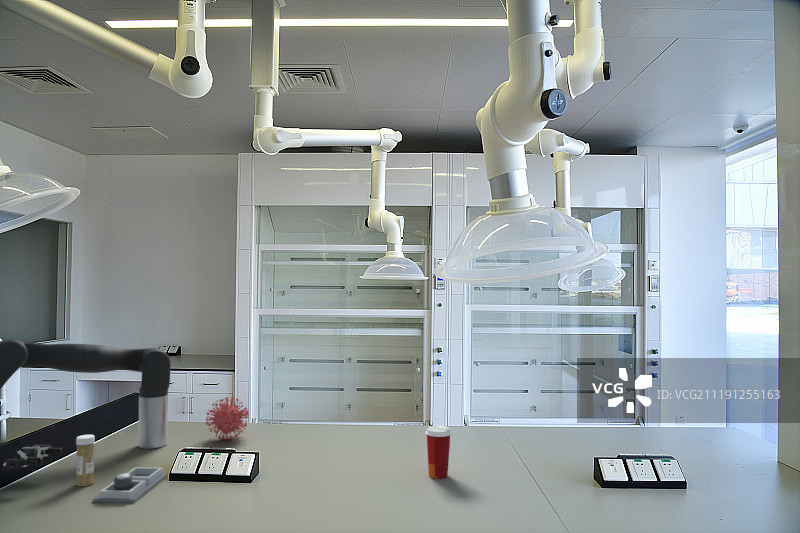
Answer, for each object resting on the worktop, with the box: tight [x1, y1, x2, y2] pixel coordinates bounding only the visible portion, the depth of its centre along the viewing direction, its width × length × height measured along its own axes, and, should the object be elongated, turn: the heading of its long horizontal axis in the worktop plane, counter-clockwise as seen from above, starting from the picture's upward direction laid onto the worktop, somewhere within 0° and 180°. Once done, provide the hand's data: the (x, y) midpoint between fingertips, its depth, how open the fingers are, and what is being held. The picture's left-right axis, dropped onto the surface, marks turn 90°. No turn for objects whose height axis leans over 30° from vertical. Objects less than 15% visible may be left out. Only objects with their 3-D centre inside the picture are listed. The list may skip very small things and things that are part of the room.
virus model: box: [205, 396, 250, 440], centre depth 207 cm, size 15×15×15 cm
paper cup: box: [424, 425, 452, 480], centre depth 171 cm, size 8×8×14 cm
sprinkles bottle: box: [75, 434, 96, 487], centre depth 162 cm, size 5×5×14 cm
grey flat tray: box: [92, 466, 168, 504], centre depth 158 cm, size 19×11×5 cm, turn 178°
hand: (52, 456), depth 162 cm, fingers open, 8 cm apart
